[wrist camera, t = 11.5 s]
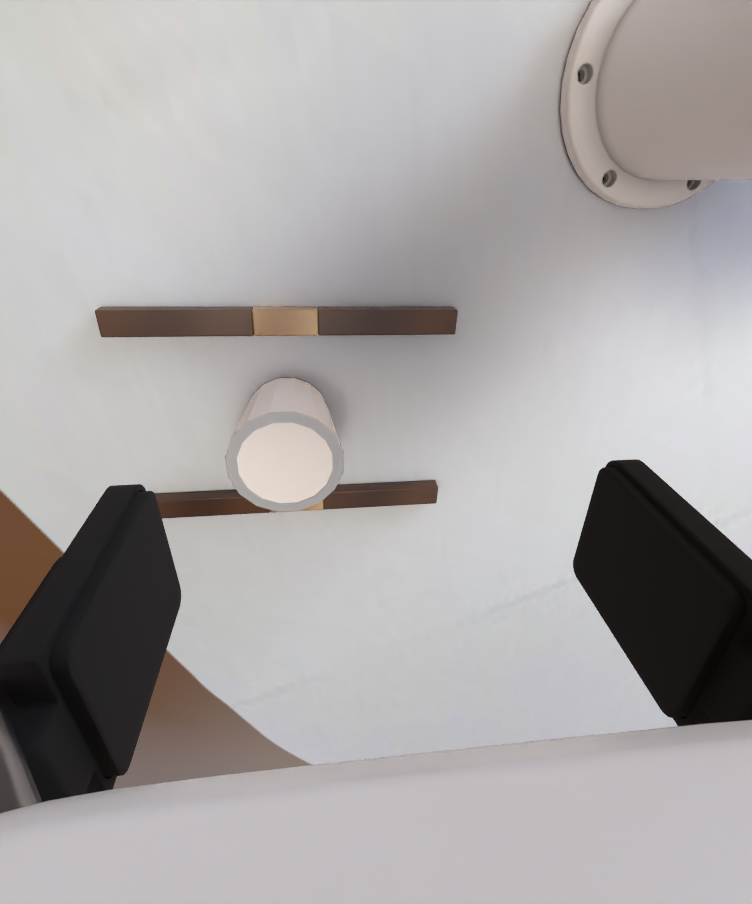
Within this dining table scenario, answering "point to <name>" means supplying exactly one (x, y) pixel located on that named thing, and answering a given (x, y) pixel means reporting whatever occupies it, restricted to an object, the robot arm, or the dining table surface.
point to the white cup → (285, 448)
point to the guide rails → (281, 324)
